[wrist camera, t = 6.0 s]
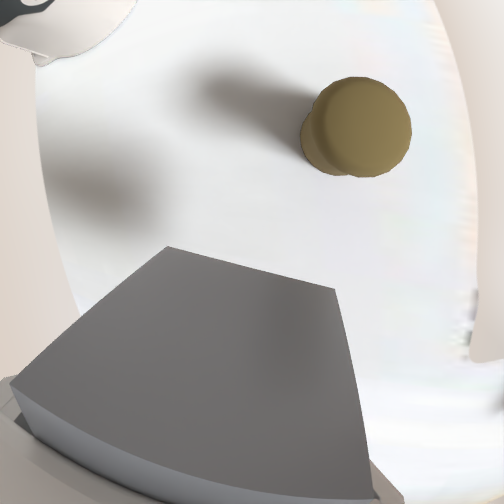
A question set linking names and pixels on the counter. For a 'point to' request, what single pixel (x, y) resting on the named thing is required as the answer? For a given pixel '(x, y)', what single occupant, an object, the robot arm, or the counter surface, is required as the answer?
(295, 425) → the block
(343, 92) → the cork
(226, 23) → the counter surface
